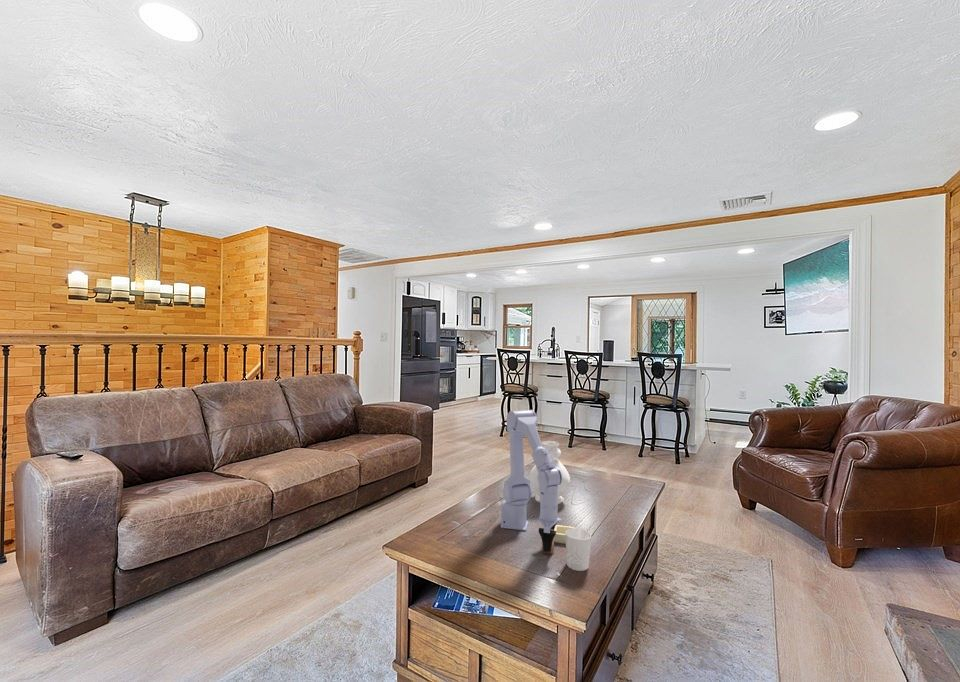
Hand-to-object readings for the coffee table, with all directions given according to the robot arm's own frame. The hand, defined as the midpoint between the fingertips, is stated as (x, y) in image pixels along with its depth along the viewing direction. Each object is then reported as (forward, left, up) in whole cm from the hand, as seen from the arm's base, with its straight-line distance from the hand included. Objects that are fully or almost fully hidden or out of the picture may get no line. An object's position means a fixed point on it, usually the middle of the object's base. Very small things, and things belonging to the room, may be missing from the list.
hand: (548, 545), depth 143 cm
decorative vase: (-3, +48, -2) cm, 48 cm away
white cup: (+10, -6, -2) cm, 12 cm away
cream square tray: (+5, +11, -2) cm, 12 cm away
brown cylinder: (0, 0, -2) cm, 2 cm away
